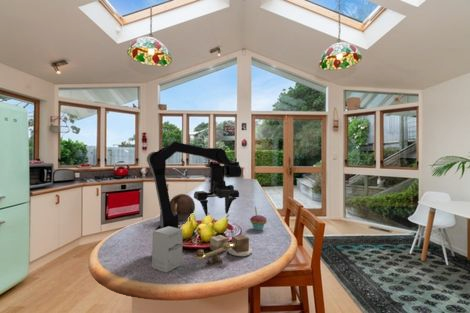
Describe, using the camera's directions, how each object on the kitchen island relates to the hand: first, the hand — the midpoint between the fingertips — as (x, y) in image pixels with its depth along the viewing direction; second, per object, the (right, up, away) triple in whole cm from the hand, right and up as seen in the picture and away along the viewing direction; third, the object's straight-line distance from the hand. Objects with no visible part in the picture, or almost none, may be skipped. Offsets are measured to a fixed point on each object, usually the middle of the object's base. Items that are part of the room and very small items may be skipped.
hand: (216, 214), depth 107 cm
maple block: (+1, -13, -5) cm, 14 cm away
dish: (+10, -13, -7) cm, 18 cm away
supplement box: (-15, -13, -20) cm, 29 cm away
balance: (+1, -13, -16) cm, 21 cm away
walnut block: (+10, -12, -7) cm, 17 cm away
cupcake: (+20, -13, +24) cm, 34 cm away
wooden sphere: (-23, -12, +40) cm, 48 cm away
